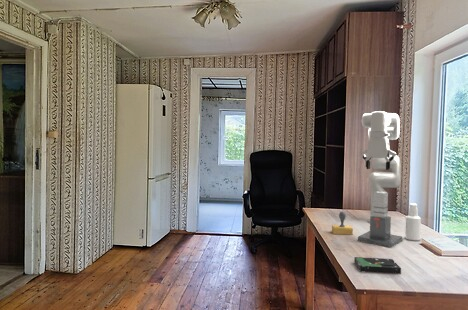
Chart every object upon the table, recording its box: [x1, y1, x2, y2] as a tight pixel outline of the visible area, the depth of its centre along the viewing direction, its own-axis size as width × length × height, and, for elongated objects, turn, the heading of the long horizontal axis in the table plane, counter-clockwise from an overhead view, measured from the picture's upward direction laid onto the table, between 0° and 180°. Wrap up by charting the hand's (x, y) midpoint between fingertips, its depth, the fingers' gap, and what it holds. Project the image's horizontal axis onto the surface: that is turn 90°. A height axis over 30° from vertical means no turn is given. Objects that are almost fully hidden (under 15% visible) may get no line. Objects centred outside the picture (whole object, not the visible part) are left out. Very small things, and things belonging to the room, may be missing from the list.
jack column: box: [374, 191, 389, 219], centre depth 165 cm, size 5×5×22 cm
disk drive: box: [353, 256, 402, 275], centre depth 128 cm, size 10×3×15 cm
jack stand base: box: [357, 215, 403, 248], centre depth 165 cm, size 16×16×12 cm
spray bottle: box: [405, 202, 422, 241], centre depth 168 cm, size 7×7×18 cm
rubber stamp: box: [331, 211, 354, 236], centre depth 178 cm, size 10×6×12 cm, turn 84°
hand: (377, 169), depth 168 cm, fingers open, 9 cm apart
